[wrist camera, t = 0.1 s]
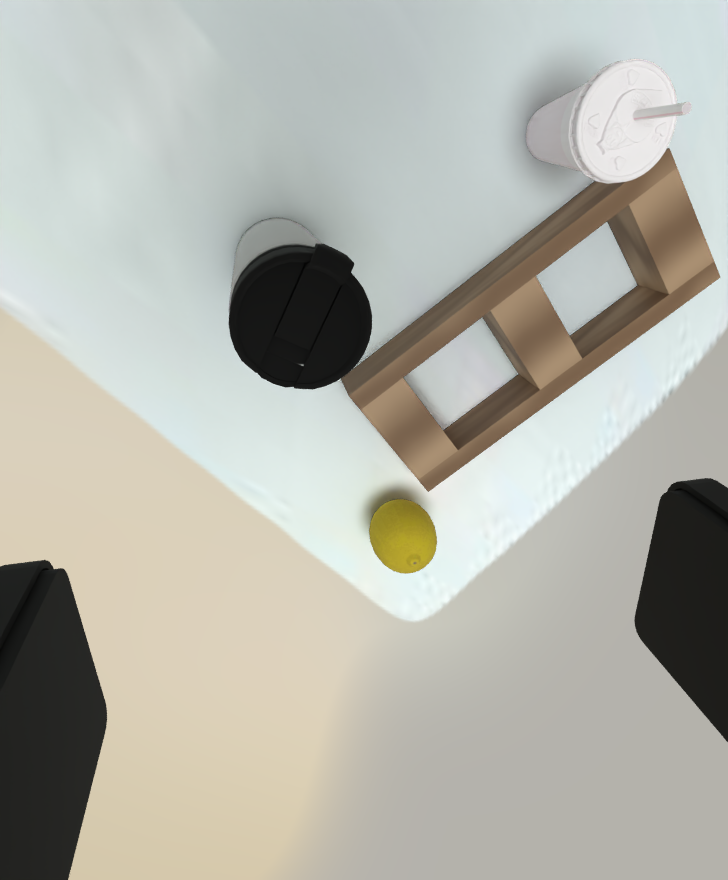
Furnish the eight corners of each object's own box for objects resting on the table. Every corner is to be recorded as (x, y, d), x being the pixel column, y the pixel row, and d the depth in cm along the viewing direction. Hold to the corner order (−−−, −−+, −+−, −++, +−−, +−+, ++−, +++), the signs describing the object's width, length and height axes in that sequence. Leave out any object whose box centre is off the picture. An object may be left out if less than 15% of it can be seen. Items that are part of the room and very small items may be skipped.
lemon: (357, 534, 54) (374, 590, 46) (367, 481, 51) (387, 531, 44) (414, 537, 55) (440, 592, 48) (427, 485, 53) (455, 534, 46)
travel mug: (337, 237, 43) (404, 284, 25) (300, 319, 44) (337, 418, 27) (256, 196, 40) (265, 215, 23) (221, 284, 42) (204, 366, 25)
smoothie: (606, 136, 43) (754, 121, 31) (539, 200, 44) (656, 212, 32) (560, 59, 40) (702, 8, 28) (490, 130, 41) (596, 111, 29)
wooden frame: (340, 378, 47) (348, 395, 43) (634, 150, 44) (669, 148, 40) (415, 469, 52) (428, 491, 48) (685, 269, 49) (720, 277, 45)
